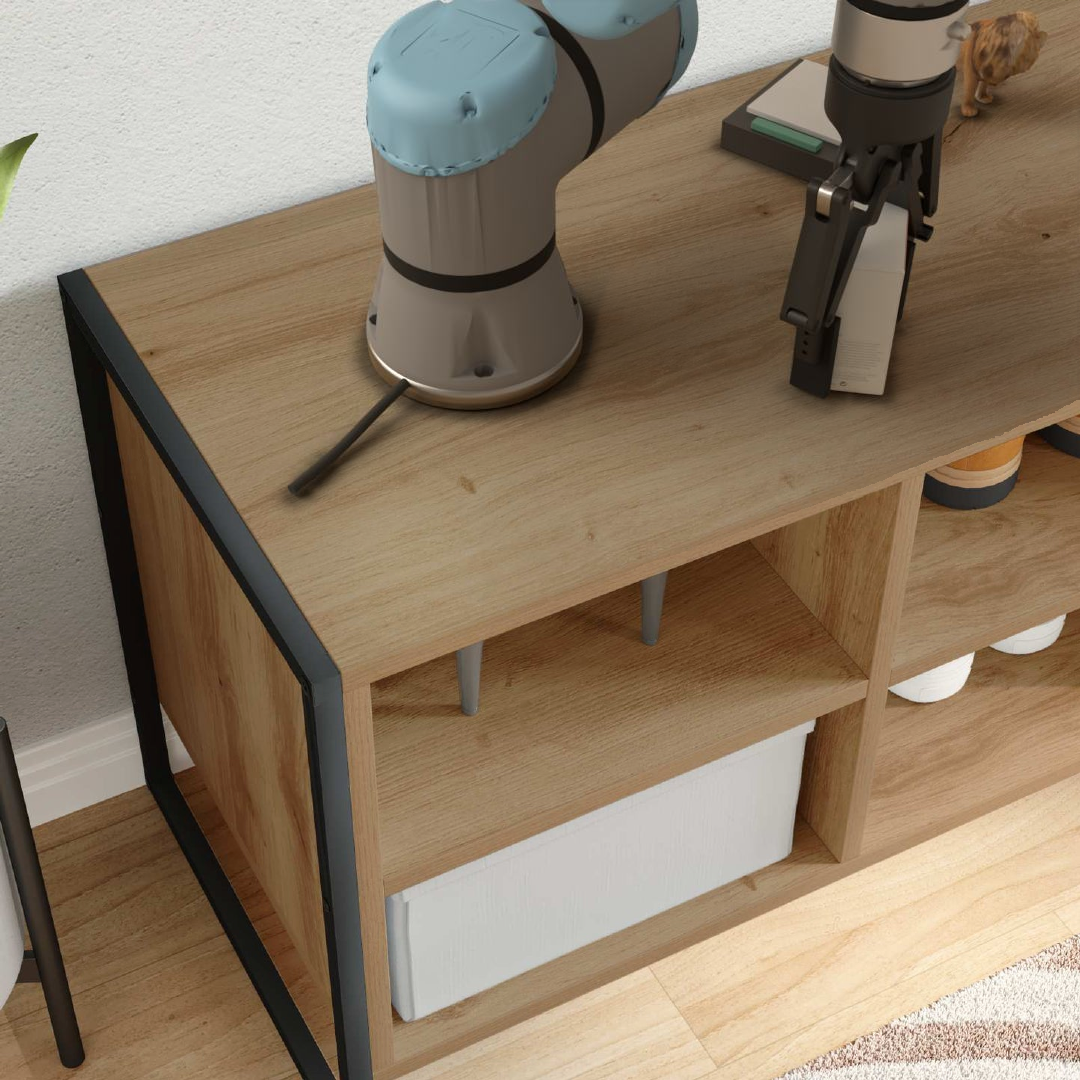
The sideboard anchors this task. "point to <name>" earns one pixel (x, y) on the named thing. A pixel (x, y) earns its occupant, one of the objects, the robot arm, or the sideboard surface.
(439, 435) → the sideboard surface
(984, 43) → the lion figurine
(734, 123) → the scale
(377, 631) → the sideboard surface
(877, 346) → the small box
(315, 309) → the sideboard surface
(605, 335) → the sideboard surface
